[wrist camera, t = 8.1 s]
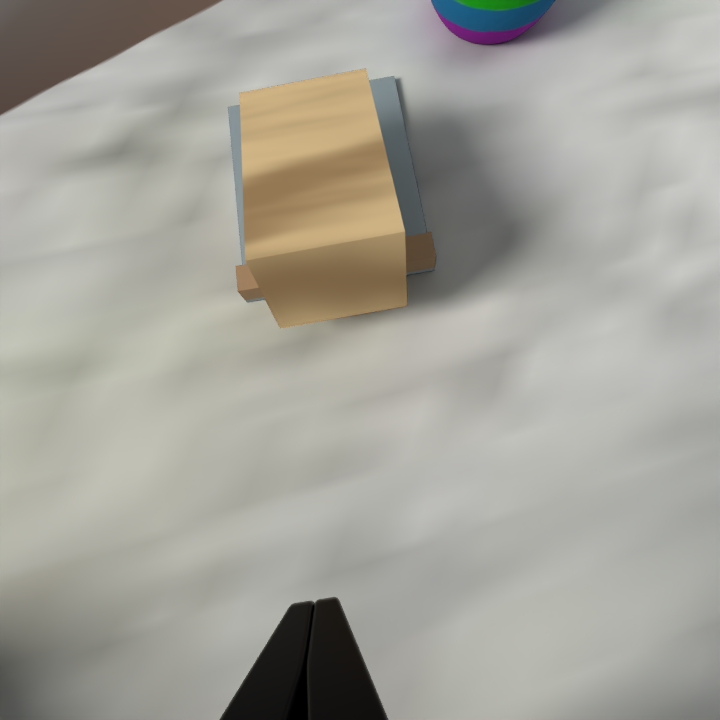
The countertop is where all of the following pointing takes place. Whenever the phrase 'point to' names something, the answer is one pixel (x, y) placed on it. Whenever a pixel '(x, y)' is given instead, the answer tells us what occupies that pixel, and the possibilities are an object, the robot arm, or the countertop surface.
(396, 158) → the slate mat
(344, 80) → the oak block
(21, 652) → the countertop surface
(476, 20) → the decorative egg
